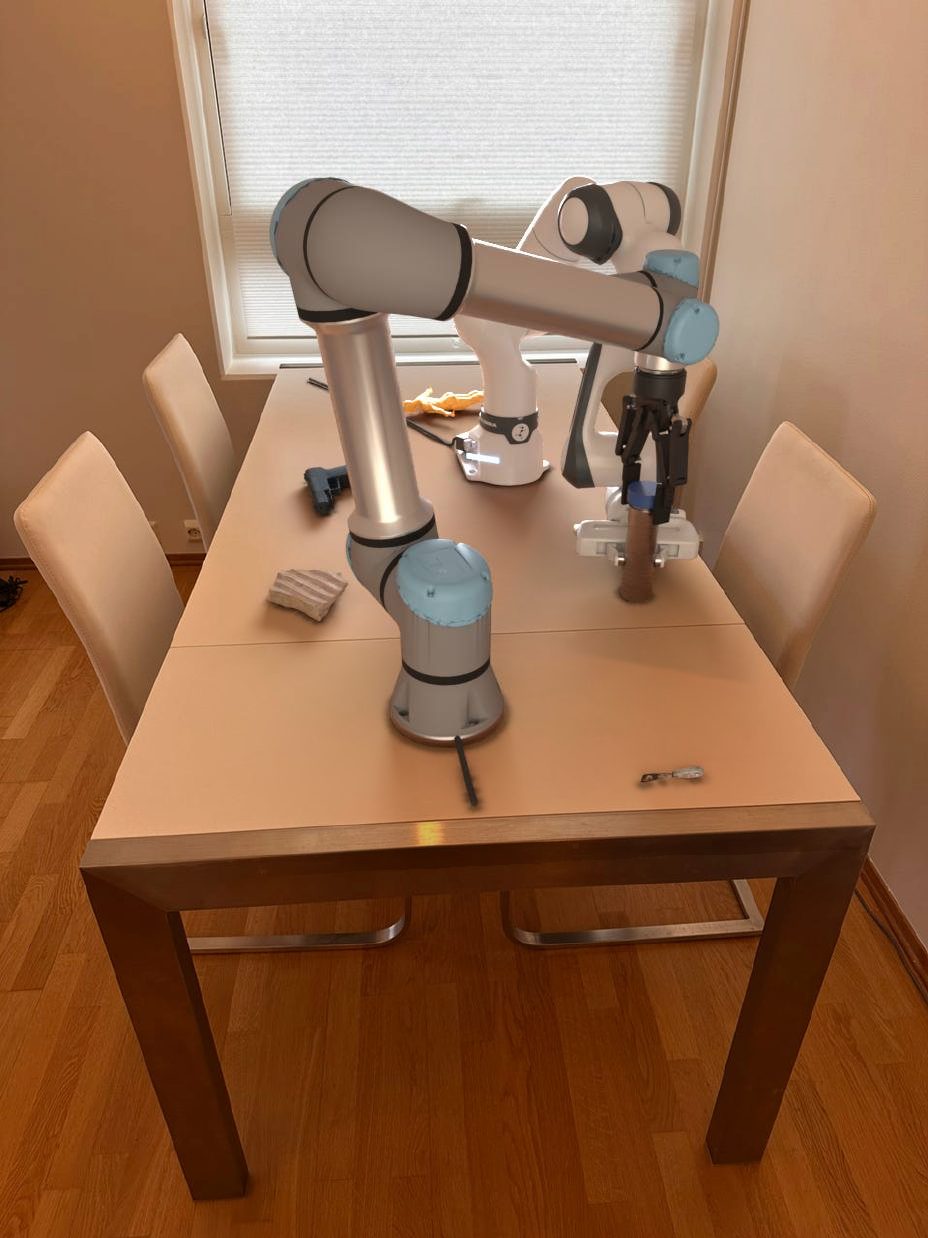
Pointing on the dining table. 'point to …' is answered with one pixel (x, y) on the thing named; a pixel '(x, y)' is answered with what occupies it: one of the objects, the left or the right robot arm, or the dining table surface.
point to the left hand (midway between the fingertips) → (644, 512)
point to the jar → (639, 555)
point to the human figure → (443, 402)
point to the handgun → (325, 485)
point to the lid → (642, 494)
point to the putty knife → (674, 774)
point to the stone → (307, 590)
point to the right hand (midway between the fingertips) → (639, 563)
